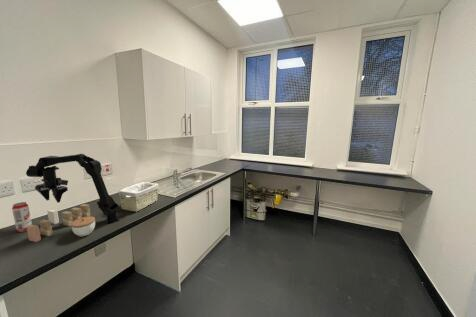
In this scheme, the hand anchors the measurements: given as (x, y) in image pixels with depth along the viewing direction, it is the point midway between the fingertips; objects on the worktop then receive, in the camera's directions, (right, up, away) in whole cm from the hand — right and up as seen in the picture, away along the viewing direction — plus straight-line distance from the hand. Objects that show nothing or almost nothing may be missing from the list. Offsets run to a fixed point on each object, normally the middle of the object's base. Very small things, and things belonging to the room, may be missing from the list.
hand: (53, 201), depth 120 cm
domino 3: (+10, -14, -1) cm, 17 cm away
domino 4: (+11, -13, +5) cm, 18 cm away
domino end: (+6, -17, -16) cm, 24 cm away
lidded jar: (+27, -16, -9) cm, 33 cm away
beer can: (-10, -15, -7) cm, 19 cm away
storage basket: (+40, -9, +29) cm, 50 cm away
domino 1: (+7, -16, -11) cm, 21 cm away
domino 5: (+13, -12, +10) cm, 20 cm away
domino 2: (-1, -14, +1) cm, 14 cm away
